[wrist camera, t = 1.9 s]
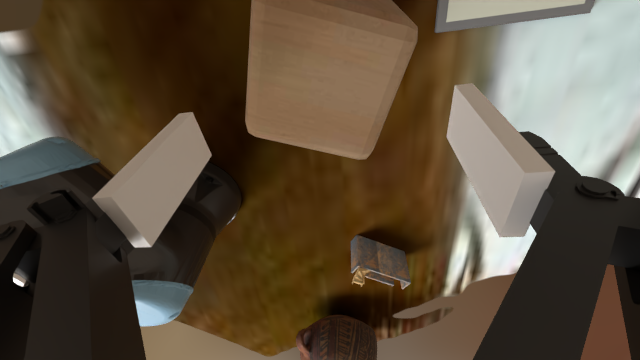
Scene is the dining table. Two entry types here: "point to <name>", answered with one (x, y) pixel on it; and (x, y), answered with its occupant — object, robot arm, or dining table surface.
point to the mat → (502, 12)
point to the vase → (337, 340)
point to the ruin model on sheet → (378, 262)
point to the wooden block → (325, 71)
